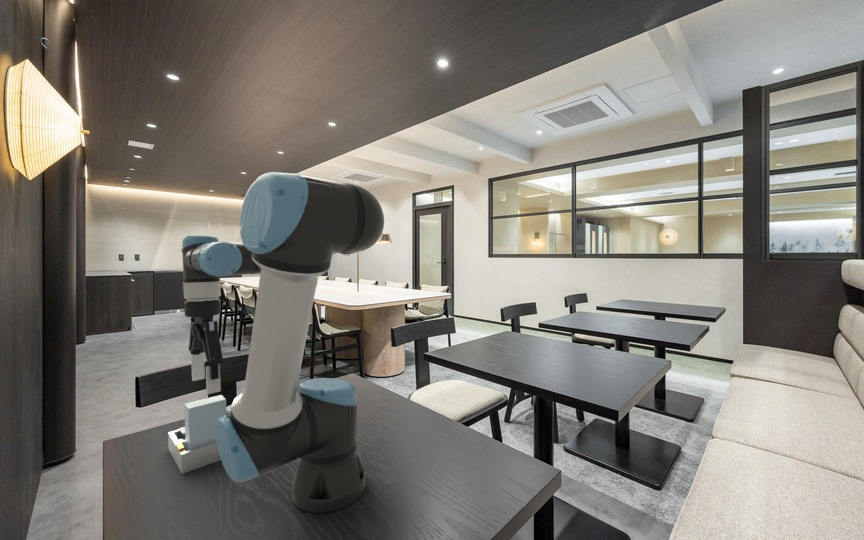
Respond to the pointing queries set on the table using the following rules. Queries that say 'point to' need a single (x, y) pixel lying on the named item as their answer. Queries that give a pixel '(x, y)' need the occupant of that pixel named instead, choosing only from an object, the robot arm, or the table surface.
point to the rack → (190, 452)
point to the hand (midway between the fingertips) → (205, 385)
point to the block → (202, 420)
